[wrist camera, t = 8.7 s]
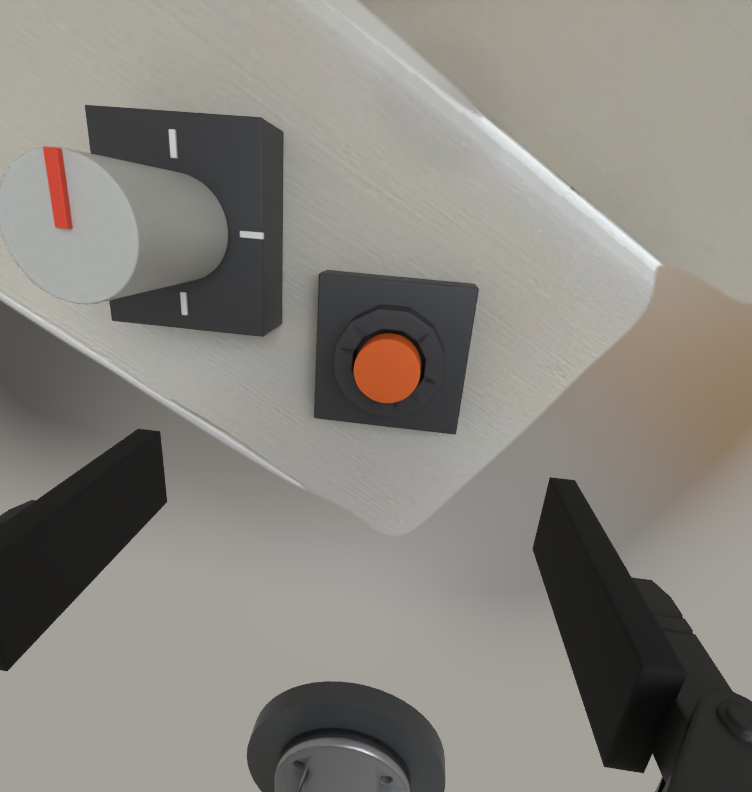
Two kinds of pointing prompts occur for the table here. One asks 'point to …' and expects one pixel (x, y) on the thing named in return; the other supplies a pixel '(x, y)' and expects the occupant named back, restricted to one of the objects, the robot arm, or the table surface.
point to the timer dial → (107, 225)
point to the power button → (387, 368)
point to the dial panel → (239, 198)
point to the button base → (404, 315)
